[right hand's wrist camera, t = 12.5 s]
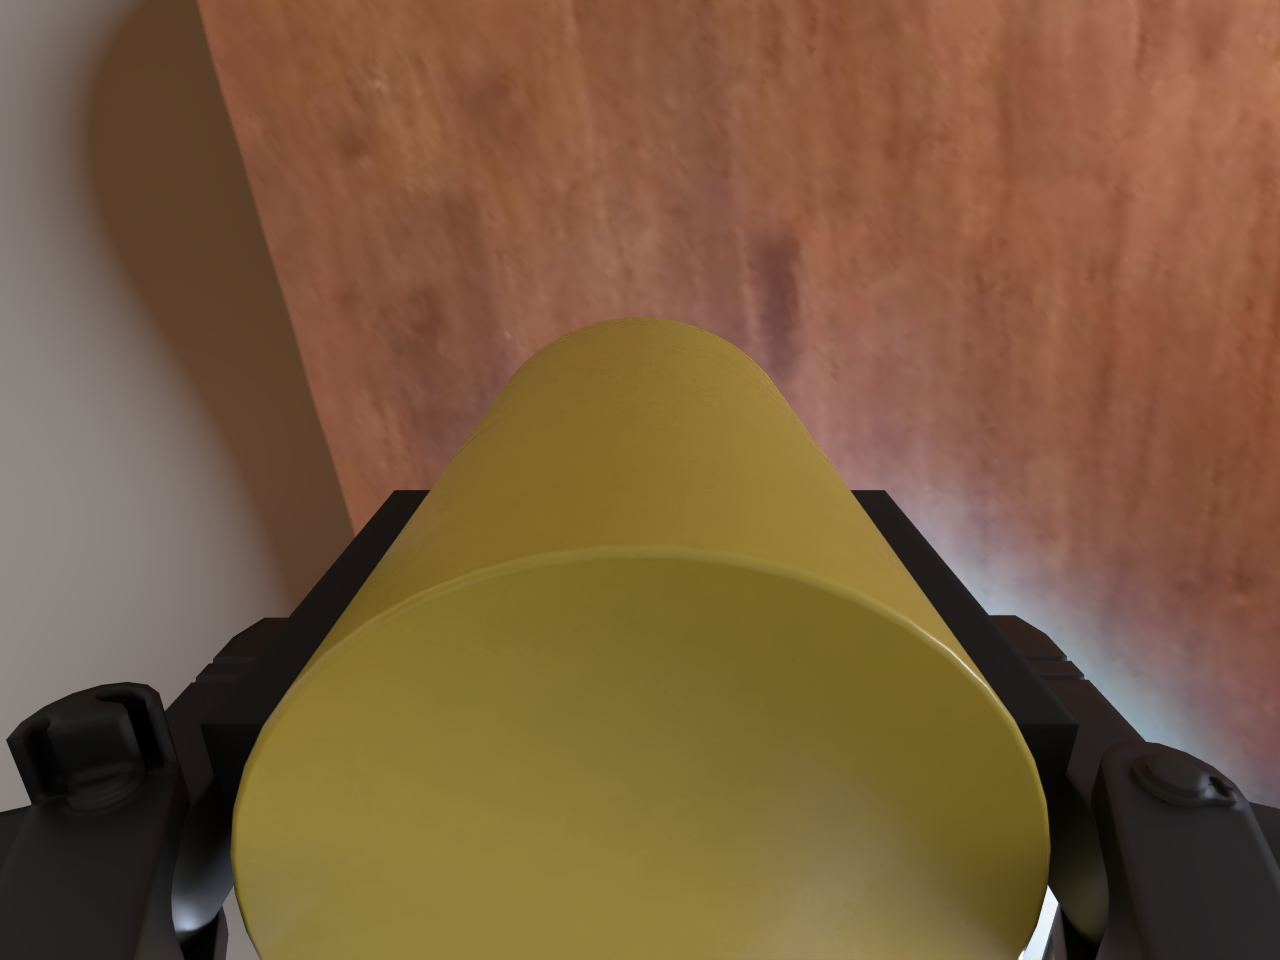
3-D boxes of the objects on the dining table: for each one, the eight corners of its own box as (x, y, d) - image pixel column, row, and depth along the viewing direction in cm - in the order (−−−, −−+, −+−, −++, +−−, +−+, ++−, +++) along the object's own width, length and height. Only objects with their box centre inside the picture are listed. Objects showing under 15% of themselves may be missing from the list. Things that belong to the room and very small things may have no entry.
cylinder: (777, 283, 16) (1056, 460, 5) (818, 588, 19) (1054, 1104, 8) (437, 355, 16) (68, 645, 6) (526, 640, 19) (387, 1186, 9)
